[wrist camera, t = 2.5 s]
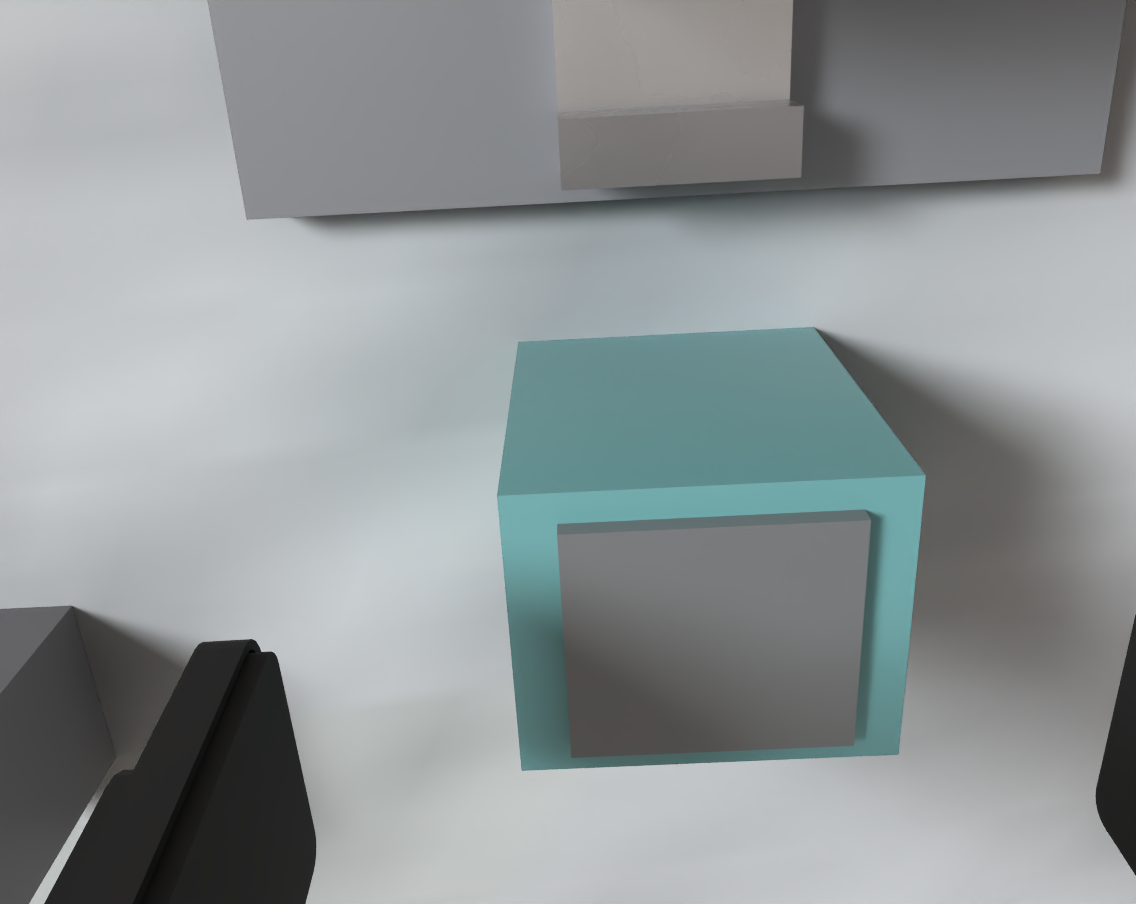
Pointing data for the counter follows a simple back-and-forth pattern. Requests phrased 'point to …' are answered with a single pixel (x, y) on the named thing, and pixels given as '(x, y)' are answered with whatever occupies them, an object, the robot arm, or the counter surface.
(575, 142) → the metal rail
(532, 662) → the teal module
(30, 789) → the grey rectangular block
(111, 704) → the counter surface
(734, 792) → the counter surface
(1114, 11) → the board
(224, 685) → the robot arm
